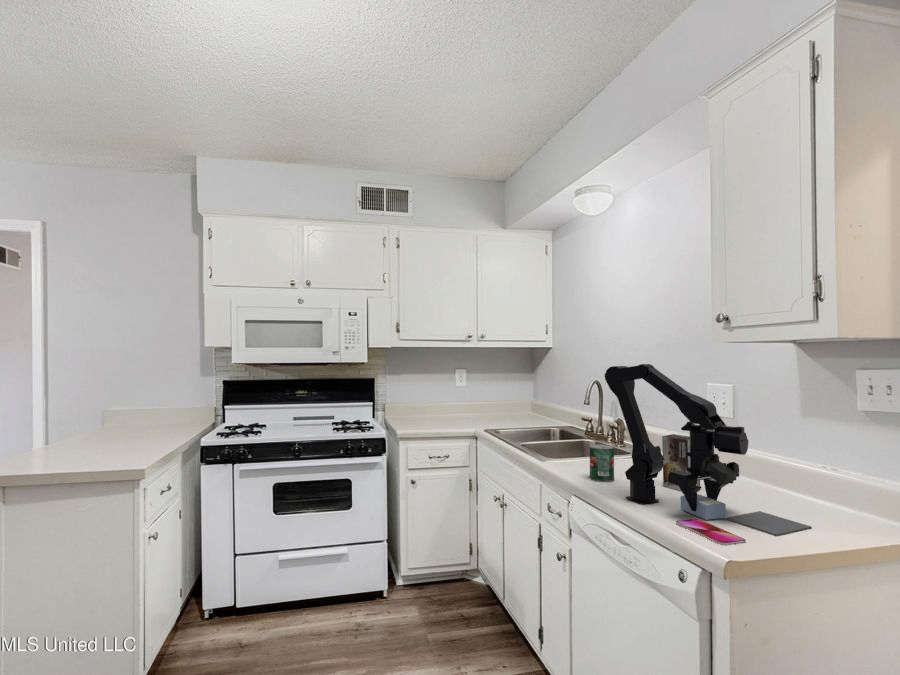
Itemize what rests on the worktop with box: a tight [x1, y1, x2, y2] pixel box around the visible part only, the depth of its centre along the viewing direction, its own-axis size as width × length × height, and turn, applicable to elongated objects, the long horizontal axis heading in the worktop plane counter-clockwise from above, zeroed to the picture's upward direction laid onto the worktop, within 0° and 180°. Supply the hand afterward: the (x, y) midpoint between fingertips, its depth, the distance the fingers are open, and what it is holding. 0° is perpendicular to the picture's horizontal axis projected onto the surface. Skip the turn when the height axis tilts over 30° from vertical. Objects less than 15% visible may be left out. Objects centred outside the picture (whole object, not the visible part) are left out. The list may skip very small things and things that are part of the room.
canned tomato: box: [589, 443, 615, 483], centre depth 169 cm, size 8×8×11 cm
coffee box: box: [661, 433, 701, 492], centre depth 158 cm, size 9×6×16 cm
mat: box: [724, 510, 813, 537], centre depth 125 cm, size 13×13×1 cm
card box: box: [680, 493, 727, 521], centre depth 132 cm, size 9×6×4 cm, turn 15°
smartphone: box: [675, 518, 747, 546], centre depth 119 cm, size 7×1×15 cm
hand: (702, 509), depth 132 cm, fingers closed on card box, 6 cm apart
